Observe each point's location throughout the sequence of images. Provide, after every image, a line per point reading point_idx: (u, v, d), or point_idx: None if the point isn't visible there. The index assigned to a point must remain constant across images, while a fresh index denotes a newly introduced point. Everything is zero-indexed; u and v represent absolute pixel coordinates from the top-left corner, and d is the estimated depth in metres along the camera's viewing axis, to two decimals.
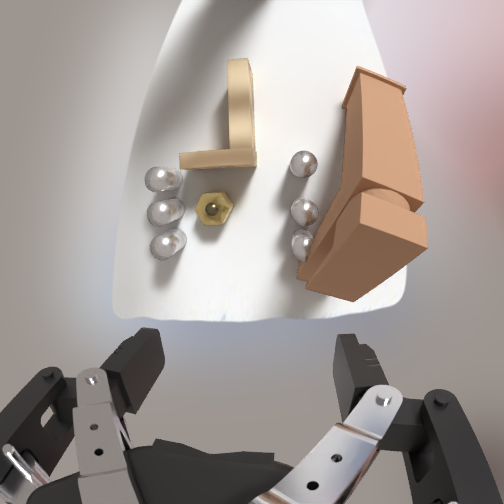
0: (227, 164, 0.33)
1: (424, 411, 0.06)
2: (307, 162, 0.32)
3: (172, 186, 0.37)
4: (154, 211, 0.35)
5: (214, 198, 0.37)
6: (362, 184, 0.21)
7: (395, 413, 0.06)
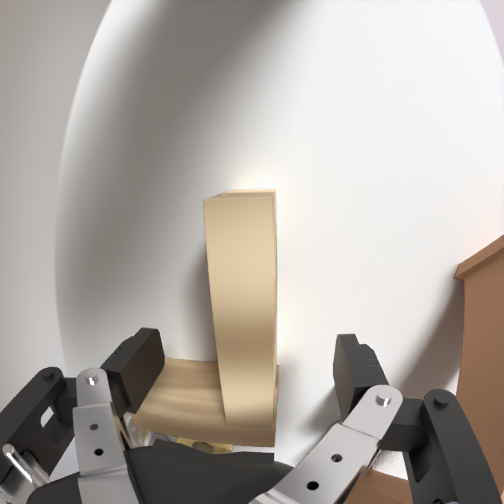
0: (224, 442, 0.14)
1: (424, 411, 0.06)
2: None
3: None
4: None
5: None
6: None
7: (395, 413, 0.06)
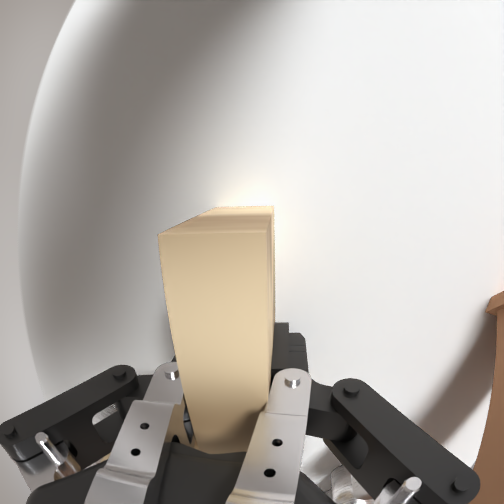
0: None
1: (337, 403, 0.07)
2: None
3: None
4: None
5: None
6: None
7: (298, 395, 0.08)
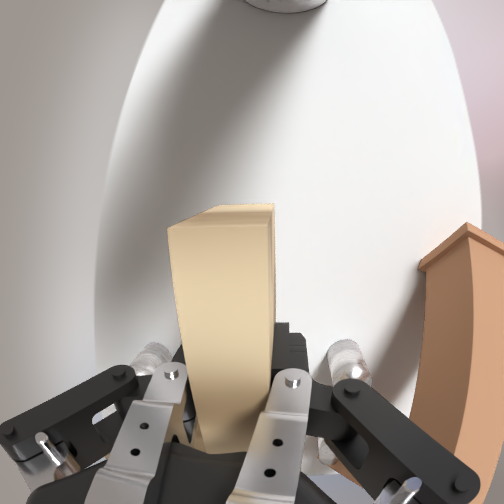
0: None
1: (338, 403, 0.07)
2: None
3: None
4: None
5: None
6: None
7: (299, 395, 0.07)
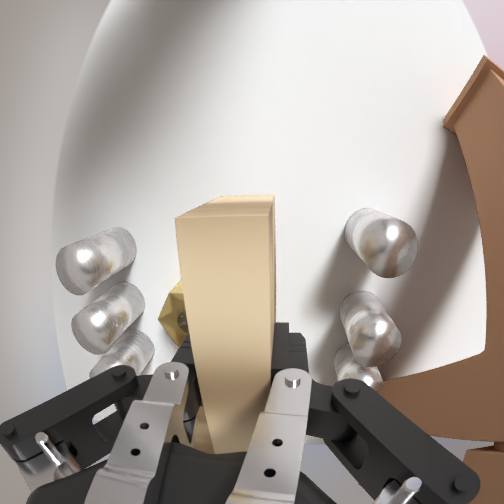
0: None
1: (337, 404, 0.07)
2: (398, 245, 0.14)
3: (112, 273, 0.18)
4: (81, 327, 0.16)
5: None
6: None
7: (299, 395, 0.08)
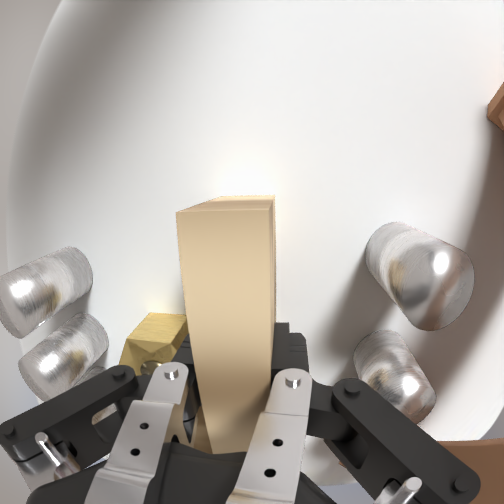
0: None
1: (338, 403, 0.07)
2: (450, 284, 0.08)
3: (60, 308, 0.12)
4: (29, 374, 0.11)
5: (158, 353, 0.13)
6: None
7: (299, 395, 0.08)
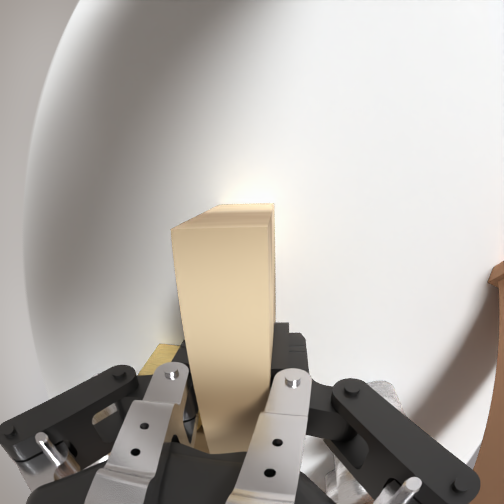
0: None
1: (337, 404, 0.07)
2: None
3: None
4: None
5: None
6: None
7: (298, 395, 0.07)
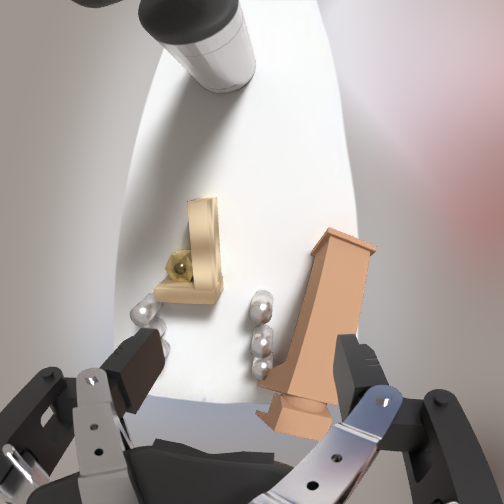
0: (194, 302, 0.39)
1: (424, 411, 0.06)
2: (262, 313, 0.39)
3: (153, 315, 0.43)
4: None
5: (181, 259, 0.40)
6: None
7: (395, 413, 0.06)
